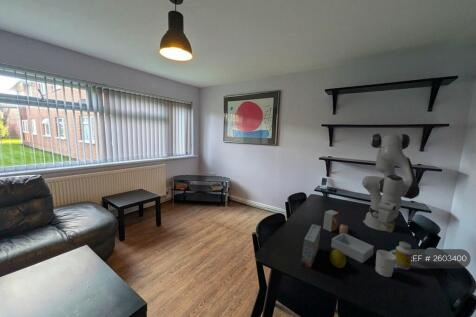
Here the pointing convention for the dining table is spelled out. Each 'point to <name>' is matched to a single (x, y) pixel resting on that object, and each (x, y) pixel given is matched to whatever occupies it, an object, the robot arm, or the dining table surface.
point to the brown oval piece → (343, 229)
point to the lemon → (337, 258)
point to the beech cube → (390, 226)
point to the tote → (352, 247)
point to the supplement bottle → (403, 255)
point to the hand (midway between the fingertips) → (387, 226)
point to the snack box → (311, 246)
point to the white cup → (385, 263)
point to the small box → (330, 220)
